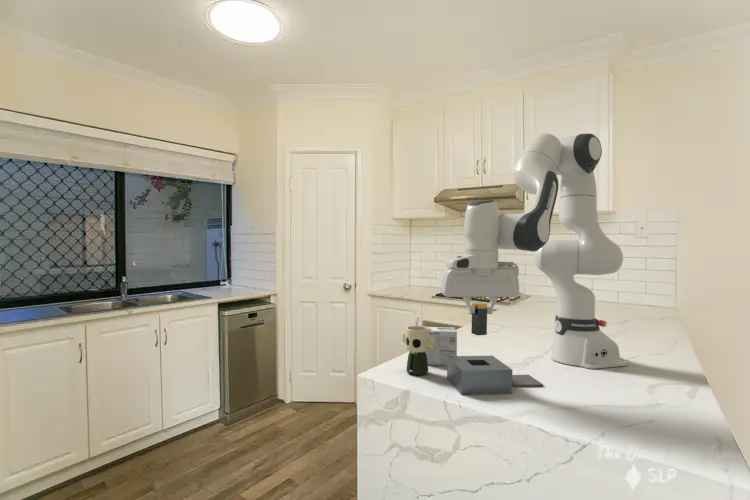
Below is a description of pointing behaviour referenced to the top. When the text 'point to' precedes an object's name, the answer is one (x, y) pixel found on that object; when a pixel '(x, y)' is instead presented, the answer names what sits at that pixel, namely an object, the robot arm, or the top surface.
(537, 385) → the mat
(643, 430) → the top surface
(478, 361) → the block
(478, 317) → the block
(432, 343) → the character mug
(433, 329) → the light bulb box
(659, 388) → the top surface
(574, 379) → the top surface
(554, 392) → the top surface
